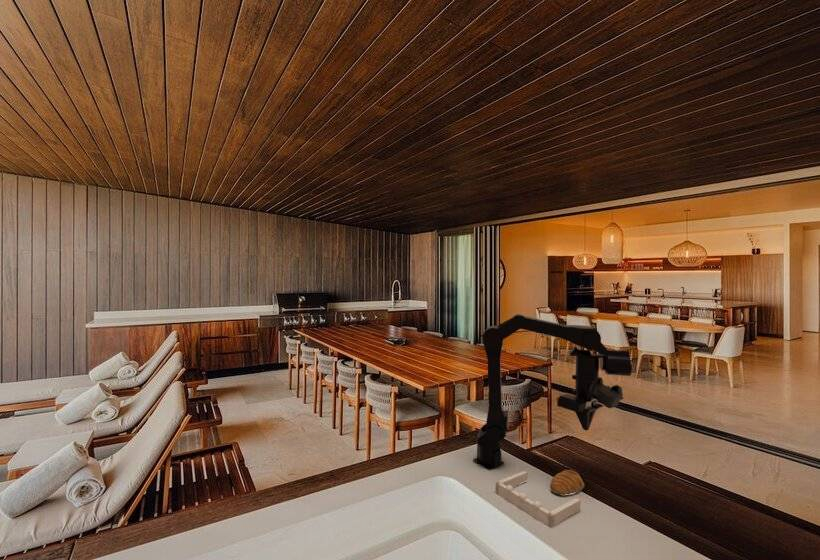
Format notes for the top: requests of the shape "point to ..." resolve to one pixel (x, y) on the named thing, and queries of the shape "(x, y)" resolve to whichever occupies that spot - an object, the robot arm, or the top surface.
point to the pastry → (566, 482)
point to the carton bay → (534, 508)
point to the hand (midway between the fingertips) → (585, 429)
